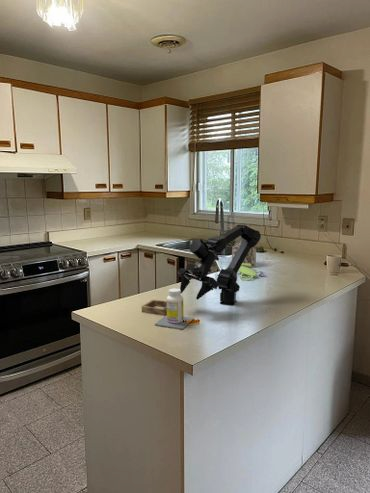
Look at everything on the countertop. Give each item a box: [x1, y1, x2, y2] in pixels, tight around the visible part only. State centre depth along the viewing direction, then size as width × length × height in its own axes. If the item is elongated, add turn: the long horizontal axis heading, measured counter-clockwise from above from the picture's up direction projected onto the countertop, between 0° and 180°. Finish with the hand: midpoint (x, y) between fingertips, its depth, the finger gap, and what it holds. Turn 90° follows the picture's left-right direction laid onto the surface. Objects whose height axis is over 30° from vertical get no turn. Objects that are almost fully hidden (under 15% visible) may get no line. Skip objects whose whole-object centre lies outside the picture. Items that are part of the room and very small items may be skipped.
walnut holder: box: [141, 299, 167, 316], centre depth 165 cm, size 11×11×2 cm
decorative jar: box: [231, 240, 257, 269], centre depth 248 cm, size 12×12×18 cm
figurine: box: [225, 263, 265, 282], centre depth 227 cm, size 18×27×6 cm
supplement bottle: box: [166, 288, 185, 323], centre depth 149 cm, size 7×7×13 cm
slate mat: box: [154, 314, 195, 331], centre depth 150 cm, size 12×12×1 cm
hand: (188, 296), depth 157 cm, fingers open, 9 cm apart
